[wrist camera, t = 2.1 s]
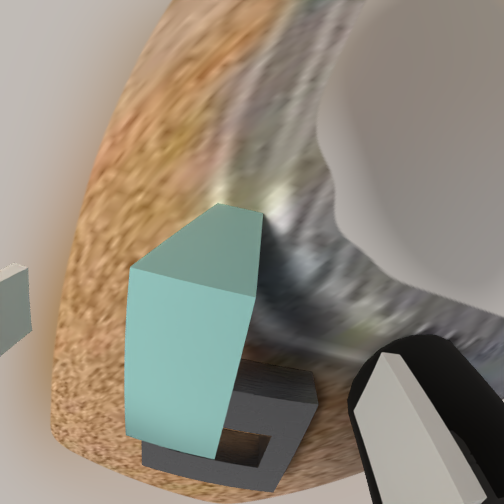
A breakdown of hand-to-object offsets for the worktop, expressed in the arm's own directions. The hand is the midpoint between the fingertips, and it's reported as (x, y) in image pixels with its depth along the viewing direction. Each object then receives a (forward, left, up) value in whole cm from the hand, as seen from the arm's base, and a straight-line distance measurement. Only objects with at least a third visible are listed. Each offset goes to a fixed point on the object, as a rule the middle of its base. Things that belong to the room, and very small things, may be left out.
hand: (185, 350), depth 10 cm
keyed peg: (0, 0, -12) cm, 12 cm away
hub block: (+14, +2, -12) cm, 18 cm away
